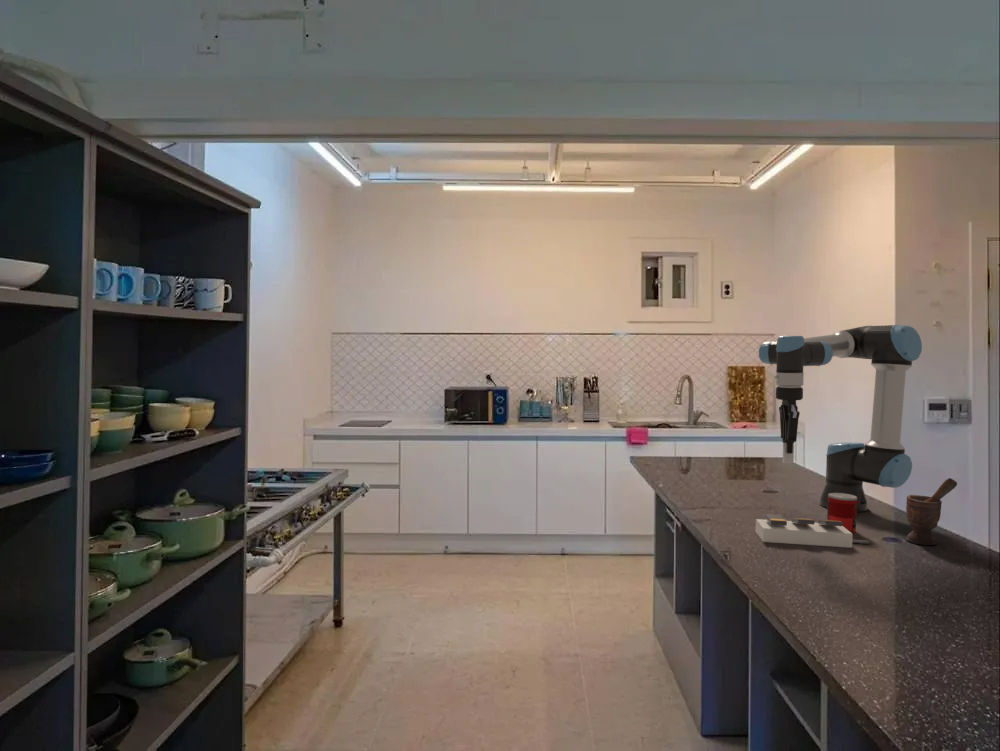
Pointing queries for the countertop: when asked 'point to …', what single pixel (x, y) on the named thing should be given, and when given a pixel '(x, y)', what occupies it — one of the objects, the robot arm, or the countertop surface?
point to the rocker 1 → (775, 519)
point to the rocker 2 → (830, 522)
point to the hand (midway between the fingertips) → (788, 463)
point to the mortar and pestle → (926, 513)
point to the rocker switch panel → (806, 534)
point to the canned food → (843, 510)
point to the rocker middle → (802, 521)
